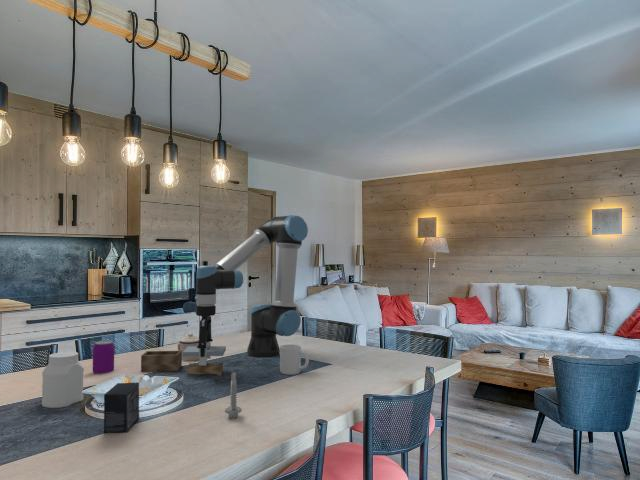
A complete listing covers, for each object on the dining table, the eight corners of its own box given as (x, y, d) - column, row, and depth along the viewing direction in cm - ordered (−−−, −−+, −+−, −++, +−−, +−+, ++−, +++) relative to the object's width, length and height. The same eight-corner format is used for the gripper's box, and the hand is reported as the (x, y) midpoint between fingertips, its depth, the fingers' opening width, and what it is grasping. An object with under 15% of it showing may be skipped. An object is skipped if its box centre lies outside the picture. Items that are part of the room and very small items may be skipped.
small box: (116, 419, 132) (117, 382, 132) (139, 418, 132) (140, 381, 133) (102, 433, 121) (102, 393, 121) (127, 433, 122) (128, 393, 122)
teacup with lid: (205, 359, 204) (205, 333, 204) (189, 363, 196) (189, 336, 196) (185, 356, 210) (186, 330, 210) (170, 360, 202) (170, 333, 202)
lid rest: (222, 371, 184) (222, 362, 184) (221, 375, 178) (221, 366, 178) (189, 372, 182) (189, 363, 182) (186, 376, 176) (186, 367, 176)
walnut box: (181, 367, 189) (181, 350, 189) (177, 372, 181) (177, 355, 182) (146, 368, 188) (146, 351, 188) (140, 373, 180) (141, 355, 180)
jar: (59, 409, 139) (60, 359, 140) (35, 406, 142) (36, 357, 142) (89, 397, 150) (89, 351, 150) (66, 394, 153) (66, 349, 153)
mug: (312, 371, 184) (312, 346, 184) (304, 377, 177) (304, 350, 177) (285, 369, 189) (285, 343, 189) (276, 374, 181) (276, 347, 181)
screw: (243, 418, 132) (226, 421, 131) (239, 413, 137) (223, 415, 135) (243, 373, 133) (227, 375, 131) (239, 369, 137) (223, 370, 135)
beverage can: (117, 372, 181) (117, 342, 181) (97, 376, 176) (97, 344, 176) (109, 369, 186) (109, 339, 187) (89, 372, 181) (89, 342, 181)
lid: (225, 350, 186) (225, 344, 186) (222, 355, 176) (223, 350, 176) (187, 350, 185) (187, 345, 185) (182, 356, 174) (182, 350, 174)
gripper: (200, 301, 192) (199, 355, 191) (190, 308, 169) (189, 369, 168) (219, 301, 192) (218, 355, 192) (211, 308, 170) (210, 368, 169)
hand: (204, 361), depth 180 cm, fingers closed on lid, 10 cm apart
